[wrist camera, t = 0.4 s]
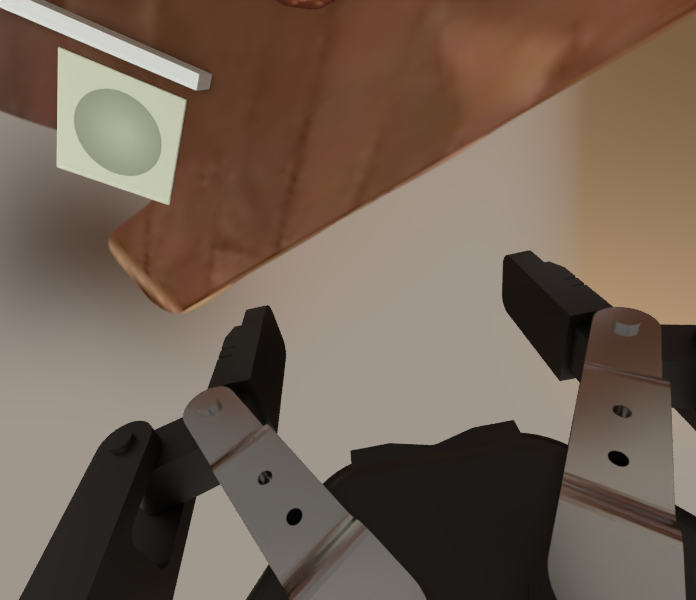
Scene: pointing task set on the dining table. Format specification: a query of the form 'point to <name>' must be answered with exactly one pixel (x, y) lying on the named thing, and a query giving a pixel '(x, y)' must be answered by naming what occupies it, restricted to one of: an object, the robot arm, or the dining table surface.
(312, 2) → the bread slice
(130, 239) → the dining table surface
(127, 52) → the low wall
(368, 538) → the robot arm
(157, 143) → the pad
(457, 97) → the dining table surface
